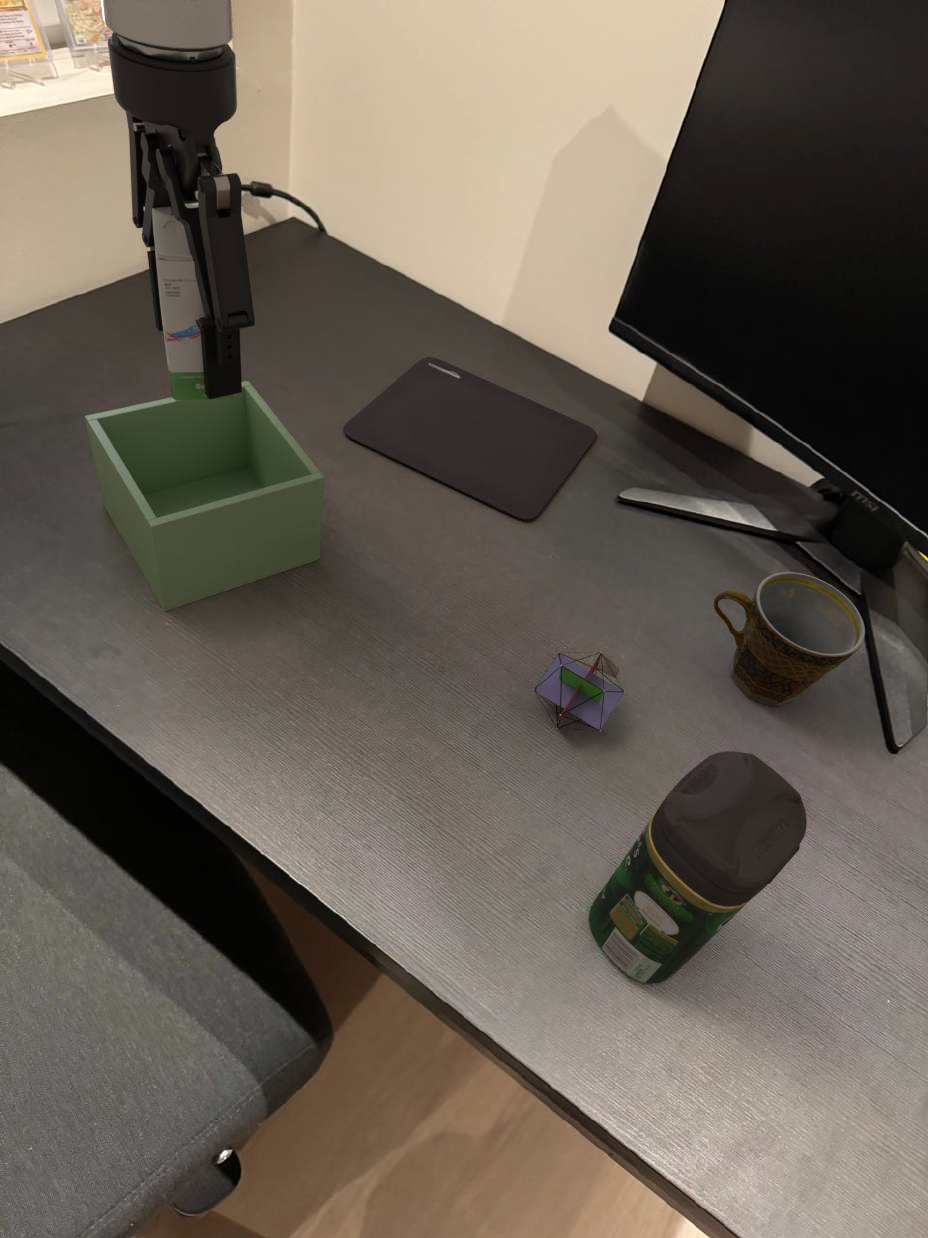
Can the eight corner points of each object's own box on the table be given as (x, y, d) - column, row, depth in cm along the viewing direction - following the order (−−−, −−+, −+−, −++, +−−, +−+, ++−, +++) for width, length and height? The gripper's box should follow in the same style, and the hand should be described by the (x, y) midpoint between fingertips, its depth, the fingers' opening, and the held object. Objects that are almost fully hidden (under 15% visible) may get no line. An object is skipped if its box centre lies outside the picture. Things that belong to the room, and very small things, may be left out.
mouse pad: (600, 432, 104) (600, 430, 104) (531, 525, 91) (531, 523, 91) (427, 354, 109) (427, 353, 109) (336, 432, 96) (337, 430, 96)
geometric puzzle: (582, 759, 70) (630, 678, 68) (513, 715, 72) (558, 635, 70) (597, 741, 77) (641, 667, 75) (533, 702, 79) (575, 628, 77)
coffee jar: (643, 846, 68) (737, 718, 54) (721, 921, 65) (841, 805, 51) (565, 923, 63) (647, 802, 49) (646, 1008, 60) (758, 905, 46)
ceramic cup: (812, 658, 85) (863, 592, 78) (811, 735, 79) (867, 671, 71) (689, 617, 86) (728, 548, 79) (678, 690, 80) (719, 622, 72)
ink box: (236, 400, 67) (229, 258, 59) (170, 402, 66) (154, 256, 57) (225, 340, 72) (218, 201, 64) (165, 340, 71) (148, 198, 62)
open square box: (102, 503, 83) (84, 415, 75) (250, 464, 90) (248, 380, 82) (164, 611, 76) (151, 526, 68) (320, 559, 83) (324, 476, 75)
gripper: (311, 106, 48) (302, 426, 65) (162, -20, 59) (188, 284, 75) (183, 113, 45) (209, 449, 61) (49, -23, 55) (103, 297, 72)
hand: (197, 358), depth 68 cm, fingers closed on ink box, 9 cm apart
